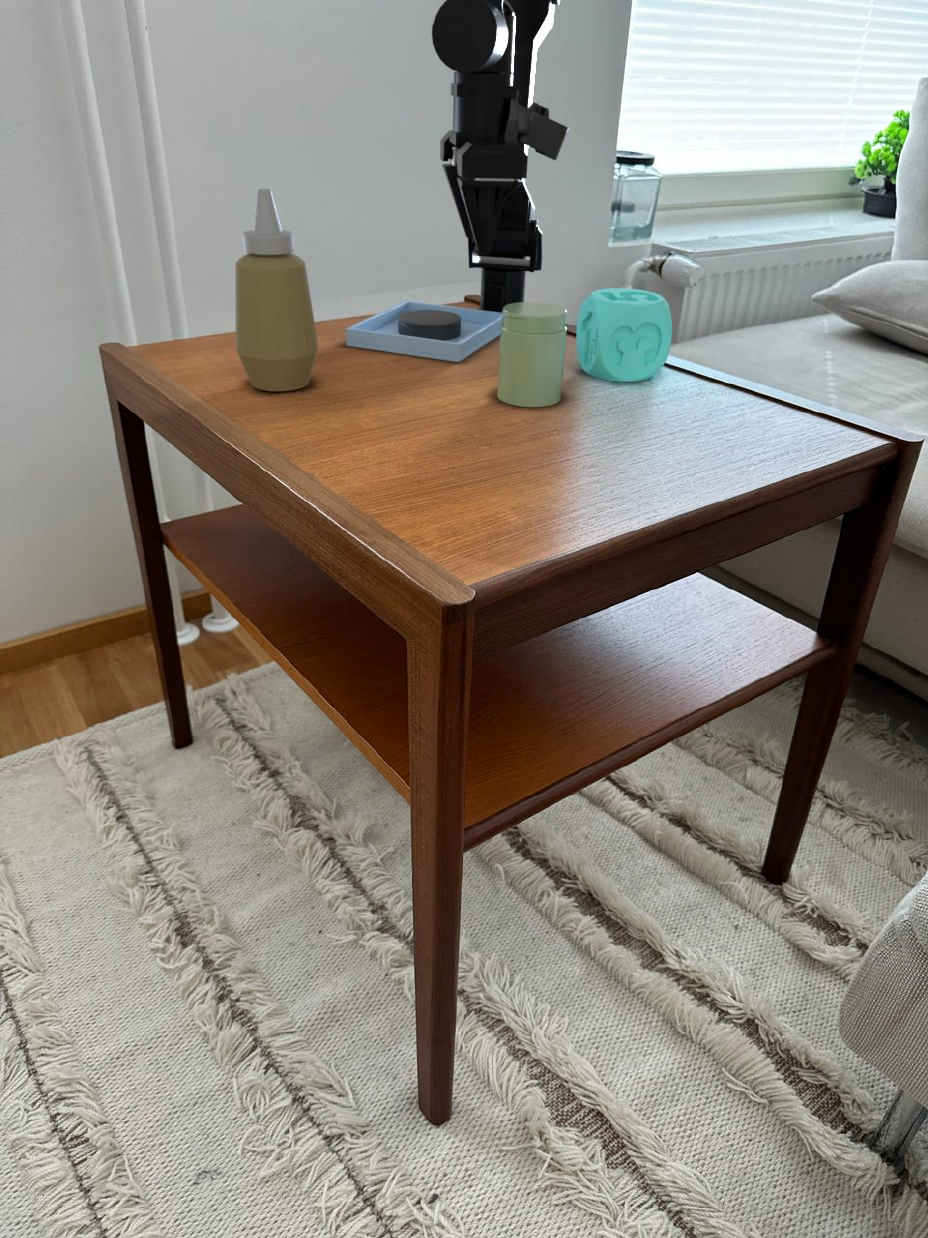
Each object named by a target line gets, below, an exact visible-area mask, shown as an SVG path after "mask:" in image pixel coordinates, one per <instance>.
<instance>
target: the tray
mask: <svg viewBox="0 0 928 1238" xmlns="http://www.w3.org/2000/svg"><path fill="white" fill-rule="evenodd" d="M416 310H439V311H447V312H451V313H455V314H457V315H459V316H460V317H461V335H460V336H459V337H458V338H455V339H452V340H446V341H442V340H435V339H427V338H420V337H413V336H406V335H400V334H399V333H398V322H399V316H400V315H401V314H402V313H405V312H409V311H416ZM501 323H503V313H500V312H492V311H484V310H478V309H475V308H467V307H459V306H453V305H445V304H435V303H430V302H429V303H428V302H422V301H421V302H420V301H413V300H405V301H402V302H400V303H398V304H396V305H394V306H391V307H389V308H387V309H385V310H383V311H381V312H379V313H376V314H374V315H371V316H369V317H367V318H365V319H363V320H361V321H359V322H357V323H355V324H352V325H349V326H348V327H346V328H345V342H346V343H345V344H346V346H347V347H352V348H360V349H365V350H371V351H372V350H374V351H380V352H385V353H393V354H399V355H407V356H413V357H420V358H427V359H433V360H441V361H447V362H455V363H460V362H462V361H464V359H466V358H468V357H469V356H470V355H472V354H473V353H476V352H477V351H479V350H480V349H481V348H482V347H485V346H486V345H487V344H488V343H490V342H492V341H494V340H495V339H496V338H498V337H500V327H501Z"/></svg>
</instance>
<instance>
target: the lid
mask: <svg viewBox="0 0 928 1238" xmlns="http://www.w3.org/2000/svg"><path fill="white" fill-rule="evenodd" d="M398 333H399V334H400V335H406V336H413V337H420V338H427V339H435V340H442V341H446V340H452V339H455V338H458V337H459V336H460V335H461V317H460V316H459V315H457V314H455V313H451V312H447V311H439V310H416V311H409V312H405V313H402V314H401V315H400V316H399V322H398Z"/></svg>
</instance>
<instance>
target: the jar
mask: <svg viewBox="0 0 928 1238" xmlns="http://www.w3.org/2000/svg"><path fill="white" fill-rule="evenodd" d="M502 313H503V323H501V327H500V335H499V350H498V366H497V367H498V368H497V386H496V387H497V389H496V390H497V391H496V397H497V399H498V400H499V401H500V402H503V403H505V404H508V405H511V406H514V407H522V408H544V407H550V406H554V405H556V404H558V403H559V402H560V401H561V398H562V388H563V375H564V365H565V355H566V354H565V353H566V342H567V334H568V333H567V330H568V328H567V326H566V319H567V309H566V308H564V307H563V306H561V305H557V304H553V303H547V302H540V301H524V302H518V303H512V304H508V305H506V306H504V309H503V311H502Z"/></svg>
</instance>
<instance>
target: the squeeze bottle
mask: <svg viewBox="0 0 928 1238" xmlns="http://www.w3.org/2000/svg"><path fill="white" fill-rule="evenodd" d="M278 213H279V212H278V210H277V206H276V203H275V199H274V195H273V192H272V189H271V188H258V189H257V195H256V206H255V213H254V222H253V229H249V230H245V231H244V232H243V233H242V241H243V250H244V251H245V252H246V254H244V255H242V256H241V257H240V258H238V260H237V261H235V267H234V269H235V270H234V271H235V272H234V273H235V275H234V276H235V351H236V354H237V355H238V358H239V360H240V362H241V365H242V367H243V369H244V371H245V374H246V376H247V378H248V380H249V383H250V385H251V386H252V388H256V389H258V390H262V391H267V392H287V391H289V392H290V391H295V390H299V389H303V388H304V387H307V386H308V385H309V383H310V381H311V377H312V373H313V371H314V370H313V368H314V366H315V361H316V358H317V355H318V350H319V343H318V335H317V330H316V323H315V315H314V311H313V310H314V309H313V304H312V298H311V291H310V285H309V284H310V283H309V279H308V271H307V265H306V262H305V261H304V260H303V259H302V258H301V257H299V256H298V255H297V254H294V253H293V252H294V251H295V237H294V232H293V231H291V230H286V229H283V228H282V225H281V221H280V217H279V214H278Z"/></svg>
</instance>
